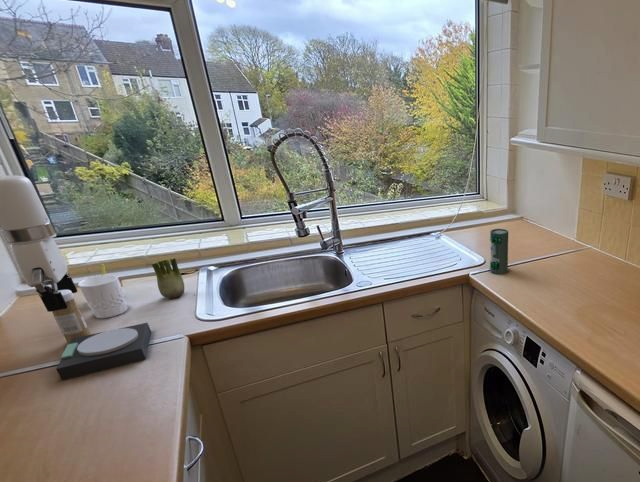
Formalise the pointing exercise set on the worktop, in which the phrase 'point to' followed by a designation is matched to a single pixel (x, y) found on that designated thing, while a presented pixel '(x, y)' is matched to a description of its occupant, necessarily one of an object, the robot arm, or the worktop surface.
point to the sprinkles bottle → (70, 318)
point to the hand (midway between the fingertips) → (63, 301)
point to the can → (499, 251)
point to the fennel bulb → (169, 278)
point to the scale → (104, 351)
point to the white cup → (104, 295)
